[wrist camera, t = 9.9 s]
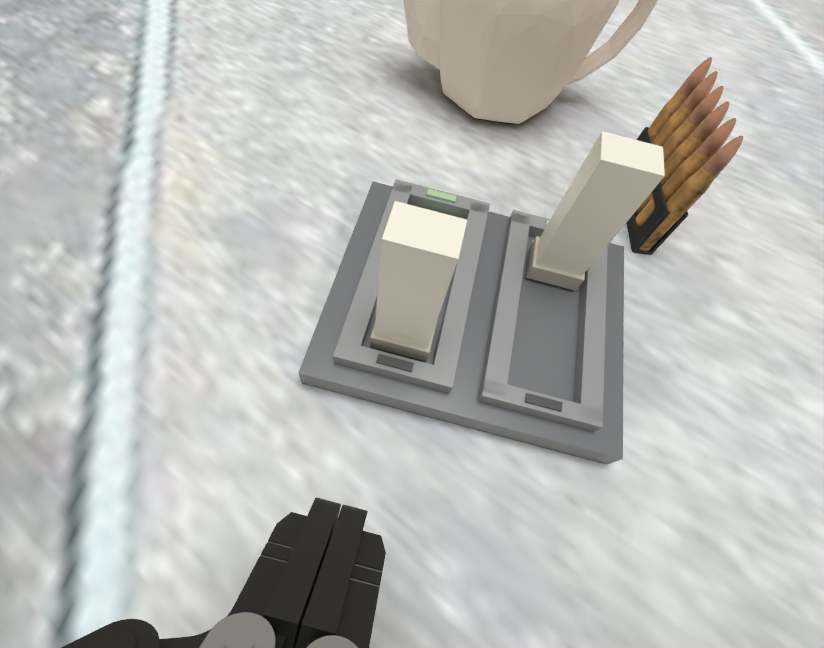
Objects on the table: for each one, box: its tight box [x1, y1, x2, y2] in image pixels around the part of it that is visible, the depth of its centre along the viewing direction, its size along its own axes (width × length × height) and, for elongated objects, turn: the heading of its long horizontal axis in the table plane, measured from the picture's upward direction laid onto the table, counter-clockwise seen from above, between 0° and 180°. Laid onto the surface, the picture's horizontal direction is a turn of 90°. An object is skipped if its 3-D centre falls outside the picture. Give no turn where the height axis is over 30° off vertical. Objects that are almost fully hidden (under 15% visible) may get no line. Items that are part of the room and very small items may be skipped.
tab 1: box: [370, 201, 467, 361], centre depth 26 cm, size 4×3×12 cm
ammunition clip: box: [627, 57, 743, 254], centre depth 37 cm, size 11×2×12 cm, turn 176°
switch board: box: [299, 180, 624, 464], centre depth 33 cm, size 22×18×3 cm
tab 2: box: [526, 131, 665, 291], centre depth 30 cm, size 4×3×12 cm
